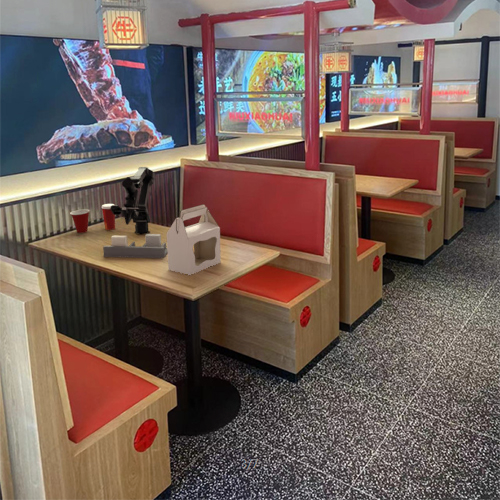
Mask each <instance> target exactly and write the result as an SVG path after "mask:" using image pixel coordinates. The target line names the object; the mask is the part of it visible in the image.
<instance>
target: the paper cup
mask: <svg viewBox="0 0 500 500" xmlns="http://www.w3.org/2000/svg"><path fill="white" fill-rule="evenodd" d="M112 205H115V204H114V203H105V204H102V205H101V209H102V211H101V212H102V217H103V223H104V229H105V230H106V231H112V230H116V215H114V214H113V213H112V211H111V210H110V208H111V206H112Z"/></svg>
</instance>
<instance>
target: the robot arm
mask: <svg viewBox="0 0 500 500" xmlns="http://www.w3.org/2000/svg"><path fill="white" fill-rule="evenodd" d="M137 169H138V170H137V171H136V173H135V174H134V175H132V176H129V177H126V178H125V179H124V180H122V182H121V186H122V188H123V190H124V191H125V193H126V197H124V198H125V199H124V200H125V203H124V204H123V206H122V207H120V204H118V205H117V204H114V205H112V206H111V208H110V210H111V211H112V213H113V214H114V215H115V216H120V215H121V214H122V215H123V218H124V223H125V225H129V224H130V222H131V221H132V223H133V224H134V223H135V225H134V233H136V234H138V235H144V234H145V235H146V234H151V231H149V223H151V216H150V215H149V210H148V207H147V205H148V204H147V203H148V198H149V193H150V188H151V186H152V185H154V181H155V180H156V174H155V172H154V171H153V170H151V169H150V168H149V167H147V166H140V167H138V168H137ZM139 189H140V191H139Z"/></svg>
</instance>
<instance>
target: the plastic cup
mask: <svg viewBox="0 0 500 500" xmlns="http://www.w3.org/2000/svg"><path fill="white" fill-rule="evenodd" d="M69 214H70V216H71V218H72V221H73V223H74V227H75V230H76V232H77V233H79V234H82V233H83V234H84V233H87V232H88V229H89V227H88V226H89V217H90V209H77V210H73V211H71V212H69Z"/></svg>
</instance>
